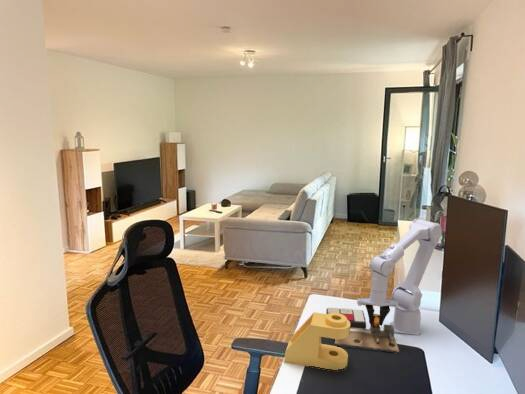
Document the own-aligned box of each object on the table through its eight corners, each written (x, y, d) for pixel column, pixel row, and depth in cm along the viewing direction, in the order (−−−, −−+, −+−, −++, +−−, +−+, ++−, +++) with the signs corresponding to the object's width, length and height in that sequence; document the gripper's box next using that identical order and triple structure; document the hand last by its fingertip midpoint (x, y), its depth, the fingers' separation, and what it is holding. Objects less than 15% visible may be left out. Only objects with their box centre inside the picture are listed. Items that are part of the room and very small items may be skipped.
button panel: (326, 306, 159) (363, 308, 156) (326, 315, 159) (362, 318, 157) (326, 318, 148) (366, 321, 145) (326, 328, 148) (365, 331, 146)
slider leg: (378, 331, 143) (379, 313, 142) (381, 343, 134) (383, 325, 133) (370, 330, 143) (371, 313, 142) (373, 342, 135) (374, 324, 134)
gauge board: (391, 334, 144) (393, 323, 143) (398, 353, 131) (400, 341, 131) (333, 328, 147) (334, 317, 146) (334, 346, 134) (335, 334, 134)
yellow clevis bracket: (347, 357, 128) (351, 313, 125) (346, 373, 119) (350, 326, 117) (289, 347, 133) (291, 304, 130) (284, 362, 124) (286, 316, 121)
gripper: (395, 286, 142) (391, 319, 144) (356, 284, 143) (353, 317, 145) (401, 293, 135) (397, 329, 137) (360, 291, 136) (357, 326, 138)
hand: (375, 323), depth 141 cm, fingers closed on slider leg, 3 cm apart
